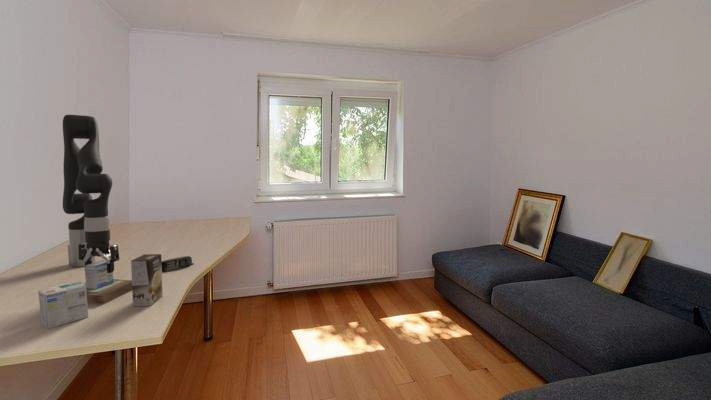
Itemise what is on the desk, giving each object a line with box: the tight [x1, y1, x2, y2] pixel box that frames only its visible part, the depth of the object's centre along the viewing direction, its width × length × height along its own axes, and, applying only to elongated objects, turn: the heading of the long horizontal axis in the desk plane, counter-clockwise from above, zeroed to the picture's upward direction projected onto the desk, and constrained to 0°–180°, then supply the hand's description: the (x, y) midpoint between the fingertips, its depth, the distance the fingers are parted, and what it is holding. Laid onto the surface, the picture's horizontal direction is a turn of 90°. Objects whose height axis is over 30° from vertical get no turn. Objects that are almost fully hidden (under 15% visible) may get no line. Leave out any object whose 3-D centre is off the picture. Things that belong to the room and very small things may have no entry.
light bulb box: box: [37, 280, 89, 330], centre depth 114 cm, size 11×7×11 cm, turn 145°
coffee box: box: [130, 253, 164, 307], centre depth 130 cm, size 9×6×16 cm
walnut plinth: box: [84, 278, 132, 305], centre depth 136 cm, size 16×16×3 cm
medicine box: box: [84, 259, 114, 289], centre depth 135 cm, size 8×4×9 cm, turn 172°
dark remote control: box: [161, 255, 195, 273], centre depth 169 cm, size 5×3×15 cm
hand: (99, 271), depth 135 cm, fingers open, 8 cm apart
